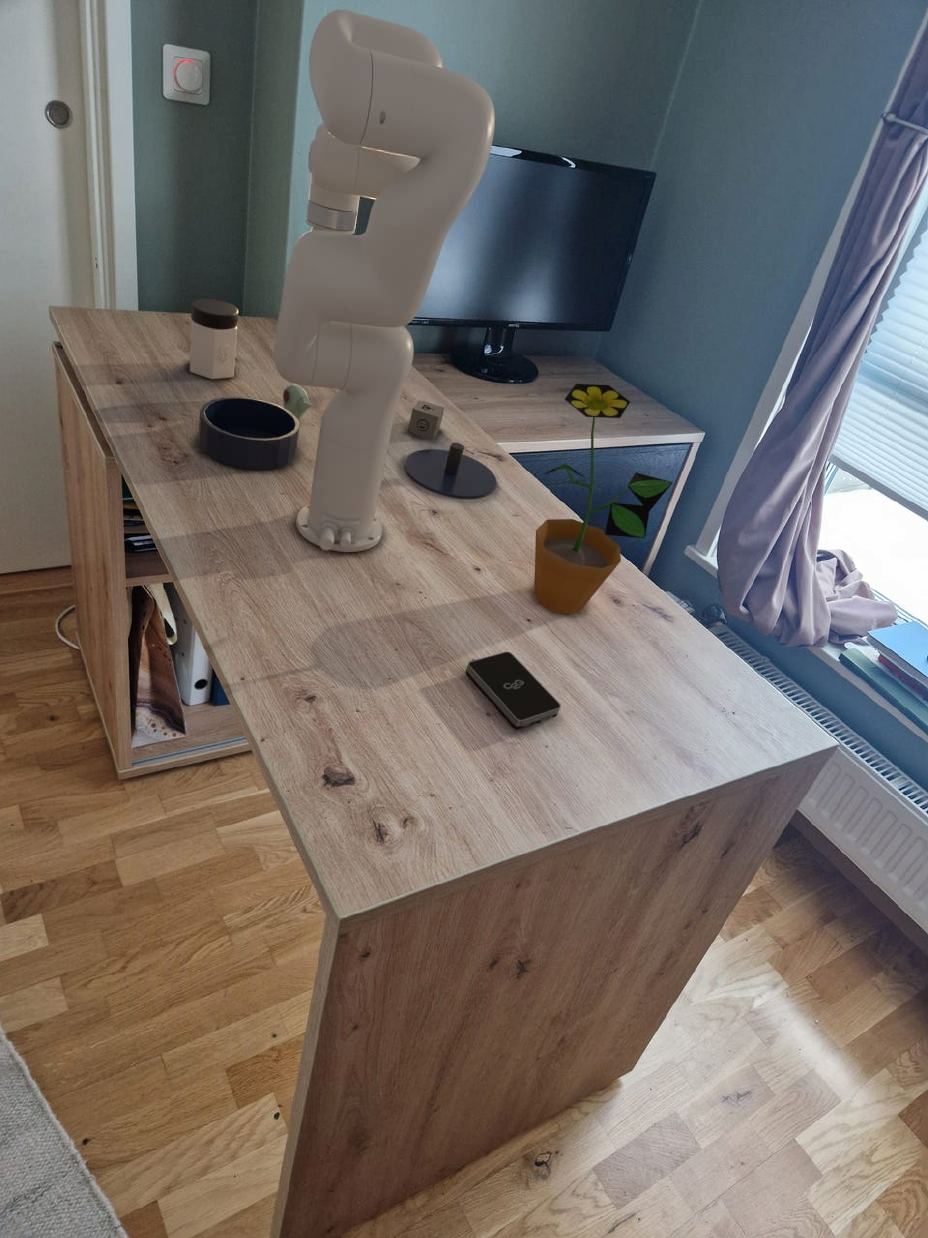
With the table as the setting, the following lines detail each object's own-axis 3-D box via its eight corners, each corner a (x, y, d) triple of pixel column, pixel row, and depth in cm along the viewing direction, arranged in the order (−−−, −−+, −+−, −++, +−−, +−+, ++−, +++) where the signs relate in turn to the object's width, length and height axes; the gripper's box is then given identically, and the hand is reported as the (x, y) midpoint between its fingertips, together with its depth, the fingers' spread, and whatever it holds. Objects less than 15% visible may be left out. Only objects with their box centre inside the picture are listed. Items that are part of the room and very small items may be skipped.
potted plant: (477, 567, 123) (532, 375, 105) (581, 562, 131) (649, 383, 113) (529, 644, 110) (602, 441, 93) (641, 633, 119) (727, 445, 101)
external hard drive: (514, 734, 96) (519, 722, 95) (461, 674, 102) (465, 661, 101) (558, 718, 100) (563, 707, 98) (504, 661, 106) (508, 649, 105)
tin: (288, 478, 130) (291, 448, 127) (188, 458, 128) (189, 427, 125) (301, 437, 143) (305, 408, 140) (210, 418, 140) (212, 389, 137)
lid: (497, 509, 138) (506, 477, 135) (401, 490, 136) (408, 457, 132) (492, 465, 152) (501, 435, 148) (405, 447, 149) (411, 416, 145)
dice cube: (414, 424, 158) (419, 399, 155) (438, 431, 158) (444, 407, 155) (407, 433, 154) (412, 408, 151) (432, 441, 154) (438, 416, 151)
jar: (201, 381, 151) (204, 316, 144) (178, 363, 155) (180, 299, 148) (244, 377, 157) (249, 314, 150) (221, 359, 161) (225, 297, 154)
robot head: (312, 430, 146) (317, 394, 142) (291, 431, 143) (295, 394, 139) (293, 409, 150) (298, 374, 147) (272, 410, 148) (276, 374, 144)
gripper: (312, 200, 133) (301, 307, 143) (300, 222, 119) (288, 339, 129) (359, 211, 134) (344, 316, 144) (352, 235, 120) (336, 349, 130)
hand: (317, 327), depth 136 cm, fingers open, 9 cm apart
